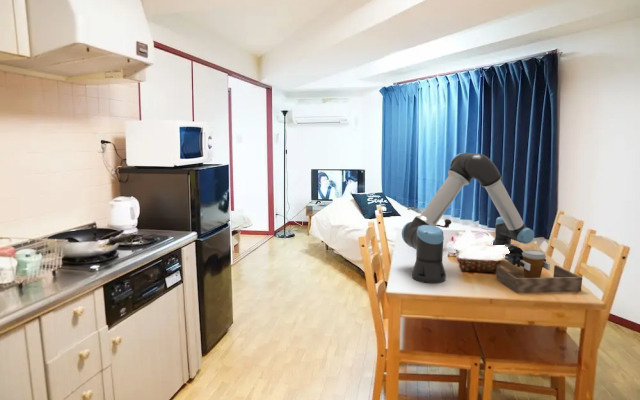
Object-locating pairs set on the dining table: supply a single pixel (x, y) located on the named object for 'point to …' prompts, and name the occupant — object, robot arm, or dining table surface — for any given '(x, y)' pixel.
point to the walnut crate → (541, 282)
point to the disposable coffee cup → (533, 263)
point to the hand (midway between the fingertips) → (539, 267)
